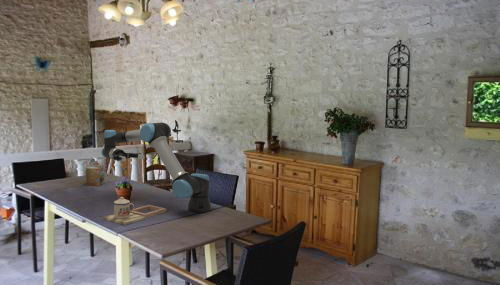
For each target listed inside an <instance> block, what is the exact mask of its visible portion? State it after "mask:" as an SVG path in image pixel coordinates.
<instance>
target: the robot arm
mask: <svg viewBox="0 0 500 285" xmlns="http://www.w3.org/2000/svg"><path fill="white" fill-rule="evenodd" d="M171 133H172V129H171V127H170V125H169V124H168V123H165V122H147V123H144V124H143V125H142V126H141V128H140V129H133V130H127V131H121V132H120V131H118V132H116V130H114V129H106V130H104V133H103V142H104V145H103V148H102V149H101V155H102V157H104V158H106V159H111V160H113V161H116V162H120V161H121V162H126V161H127V160H126V159H132V158H134V159H139V160H146V159H145V155H144V154H142V153H141V152H139V153H137V152H136V153H135V152H125V151H124V150H123V149H121V148H116V147H117V144H123V143H125V144H126V143H130V142H132V143H133V142H138V141H142V142H145V143H148V145H149V147H150V148H153V149H154V150H155V152H156V153H157V156H158V157H159V158H160V161H161V162H162V164H163V165H164V167H165V169H166V170H167V172H168V173H169V175H170V177H171V179H172V180H171V183H172V185H171V186H172V187H171V188H172V189H171V190H172V193H173V194H174V196H175V197H176V198H178V199H181V200H183V199H189V201H188V205H187V211H189V212H192V213H206V212H211V210H212V205H211V204H212V203H211V200H210V176H209V175H208V174H205V173H191V174H190V173H189V172H188V171H185V169H184V168H183V166H182V165H181V163H180V161H179V159H178V158H177V157H176V154H174V152H173V150H172V149H171V147H170V145H169V144H168V141H167V140H168V139H169V138H170V136H171Z"/></svg>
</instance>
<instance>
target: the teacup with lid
mask: <svg viewBox="0 0 500 285" xmlns="http://www.w3.org/2000/svg"><path fill="white" fill-rule="evenodd" d="M130 206H131V207H130ZM133 209H135V205H134V204H133V203H132V202H131V201H130V200H129V199H125V198H124V196H120V197H119V198H118V199H116V200H114V201H113V214H114V218H116V219H126V218H129V217H130V212H131V211H132V210H133Z"/></svg>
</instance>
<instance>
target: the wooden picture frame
mask: <svg viewBox="0 0 500 285" xmlns="http://www.w3.org/2000/svg"><path fill="white" fill-rule="evenodd" d="M147 210H152V211H149V212H143V211H147ZM130 213H133V214H137V215H141V216H145V219H147V218H150V217H153V216H157V215H159V214H160V215H161V214H164V213H167V208H165V207H161V206H157V205H156V206H155V205H152V204H147V205H144V206H140V207H137V208H135V207H134V209H133V210H132V211H131V212H130Z"/></svg>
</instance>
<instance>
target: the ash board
mask: <svg viewBox="0 0 500 285" xmlns="http://www.w3.org/2000/svg"><path fill="white" fill-rule="evenodd" d="M103 220H104V221H108V222H111V223H116V224H119V225H121V226H122V225H123V226H127V225H130V224H134V223H137V222H140V221H143V220H146V218H145V216H141V215H137V214H133V213H130V217H129V218H126V219H116V218H114V213H113V214H110V215H105V216H103Z"/></svg>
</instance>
